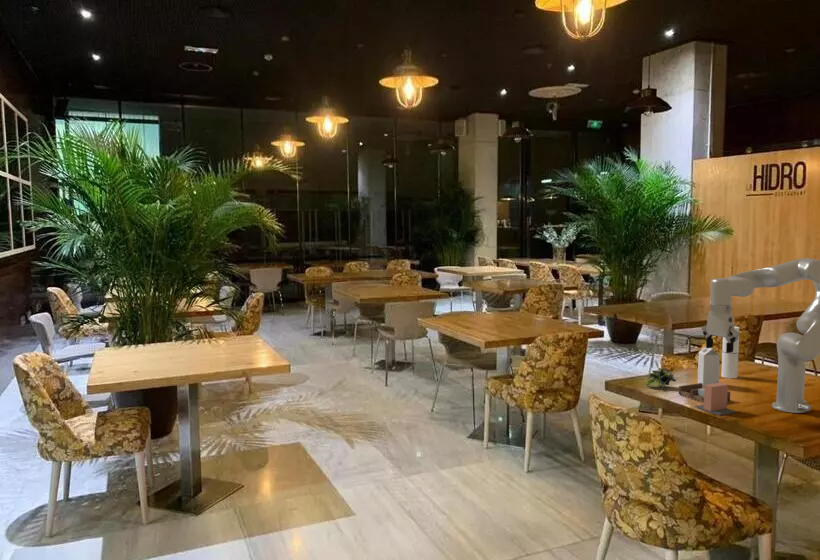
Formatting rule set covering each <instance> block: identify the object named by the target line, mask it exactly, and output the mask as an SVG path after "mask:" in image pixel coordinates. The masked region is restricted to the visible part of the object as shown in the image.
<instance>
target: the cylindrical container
mask: <svg viewBox="0 0 820 560" xmlns="http://www.w3.org/2000/svg"><path fill="white" fill-rule="evenodd" d="M734 328H735V330H736V331H737V332H739V333H740V330H741V329H740V327H739V326H735V325H734ZM726 343H728V341H727V340H726V338H725V337H722V347H721V349H722V351H721V374H720V375H721V378H724V377H725V378H726V379H731V378H735V379H738V373H739V351H740V350H739V349H740V346H739V345H740V344H739V343H740V335H739V336H738V339H737V340H736V341H735V342H734V344H733V352H729V353H727V352H726Z"/></svg>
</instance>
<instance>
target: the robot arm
mask: <svg viewBox="0 0 820 560" xmlns="http://www.w3.org/2000/svg"><path fill="white" fill-rule="evenodd" d="M803 280H809V281H812V282H813V287H814V291H815V295H814V298H813V300H812V302H811V303H810V304H809V305H808V307H807V308H806V309H805V311H803V312H802V313H801V315H800V316H799V318H798V319H797V321H796V328H797V330H798V331H799V332H800V333H802V334H800V333H797V332H785V333H783V334H780V336H778V338H777V341H776V350H777V352H776V353H777V360H778V362H777V363H778V365H777V382H776V384H777V385H776V401H774V402H772V403H771V408H773V409H775V410H777V411H780V412H785V413H792V414H793V413H794V414H803V413H807V412H810V411H811V410H812V408H813V406H812V405H811V404H808V403H807V399H805V398H804V397H805V382H806V381H805V380H806V379H805V378H806V362H808V361H812V360H815V359H816V358H817V357H818V356H819V355H820V259H816V258H807V257H803V258H797V259H792V260H790V261H786V262H783V263H780V264H776V265H773V266H768V267H763V268H758V269H753V270H749V271H748V270H747V271H743V272H739V273H736V274H733V275H730V276H728V277H727V278H724V277H723V278H722V277H718V278H715V277H714V278H713V279H711V281H710V299H709V311H708V314H707V320H706V324H705V325H702V326H701V331H702V335H703V336H704V338H705V339H706V340H705V341H706V342H705V343H706V344H705V347H706V348H712V349H714V348H713V347H714V337H719V338H723V337H725V338H726V340H727V341H728V343H726V352H727V353H729V352H733V344H734V342H735V341H736V340H737V339H738V336H739V337H740V331H739V332H737V331H736V330H735V328H734V326H735V318H734V313H733V312H731V311H733V307H732V297H741V298H742V297H743V298H744V297H749V296H751V295H752V294H753V293H754V291H755V289H757V288H779V287H782V286H785V285H788V284H792V283H793V284H794V283H795V282H799V281H803Z"/></svg>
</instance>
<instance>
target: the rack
mask: <svg viewBox="0 0 820 560" xmlns="http://www.w3.org/2000/svg"><path fill="white" fill-rule="evenodd" d="M702 388H704V386H703V384H702V383H698V382H697V383H692V384H685V385H679V386H678V395H679V394H680V395H683V396H682V397H684V396H686V397H685V398H687V397H688V398H687V399H690V398H691V399H690V400H693V399H694V400H693V401H696V400H697V402H699V401H700V402H699V403H702V402H703V403H702V404H704V398H703V397H700V396H698V389H702ZM680 395H679V396H680ZM727 402H731V391H729V390H728V396H727Z"/></svg>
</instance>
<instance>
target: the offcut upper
mask: <svg viewBox="0 0 820 560" xmlns="http://www.w3.org/2000/svg"><path fill="white" fill-rule="evenodd" d="M704 389H705V387H703V388H702V389H698V395H701V396H704Z"/></svg>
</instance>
